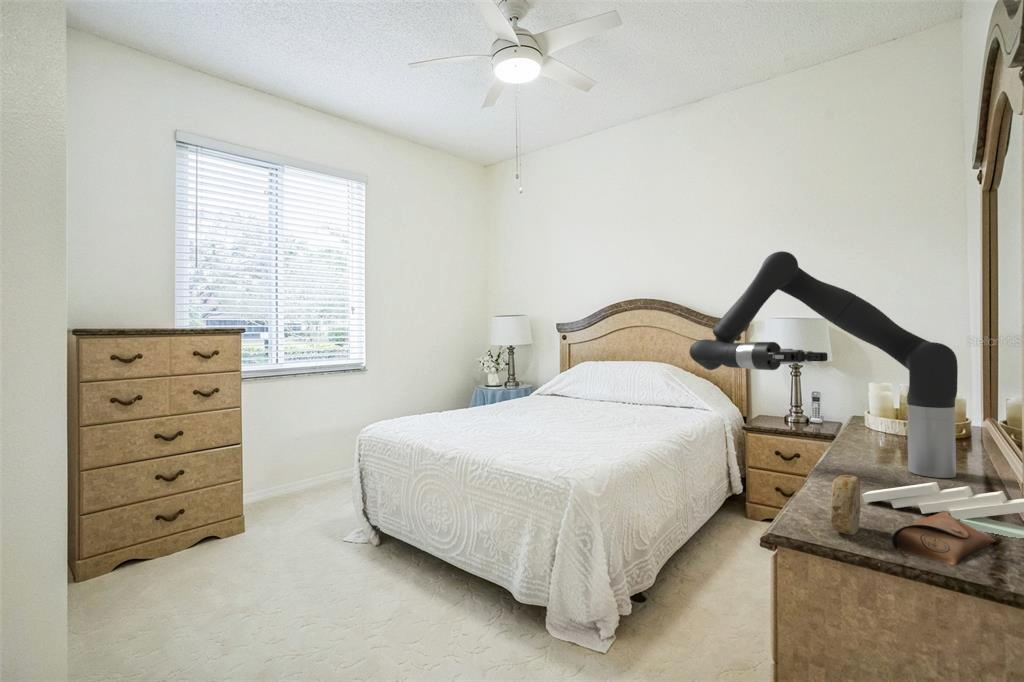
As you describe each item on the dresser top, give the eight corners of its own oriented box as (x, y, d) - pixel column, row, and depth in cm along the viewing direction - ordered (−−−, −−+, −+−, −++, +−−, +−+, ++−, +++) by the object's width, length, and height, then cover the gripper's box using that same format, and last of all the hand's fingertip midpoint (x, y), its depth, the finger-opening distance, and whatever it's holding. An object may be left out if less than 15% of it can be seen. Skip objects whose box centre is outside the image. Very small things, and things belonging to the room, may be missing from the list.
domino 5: (959, 519, 90) (1055, 542, 79) (971, 514, 92) (1065, 536, 82) (960, 528, 90) (1055, 552, 79) (971, 523, 92) (1065, 546, 82)
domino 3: (918, 505, 96) (998, 494, 87) (925, 501, 99) (1002, 490, 90) (922, 513, 95) (1002, 503, 86) (928, 509, 98) (1007, 499, 90)
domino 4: (948, 510, 91) (1035, 500, 83) (953, 507, 95) (1038, 496, 86) (953, 519, 91) (1041, 510, 83) (958, 515, 94) (1043, 506, 86)
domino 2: (889, 500, 99) (963, 489, 91) (896, 496, 102) (969, 485, 94) (893, 508, 99) (968, 498, 90) (900, 504, 102) (973, 494, 93)
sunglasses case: (958, 566, 74) (929, 521, 77) (909, 574, 79) (884, 531, 82) (999, 541, 83) (972, 501, 86) (953, 549, 88) (929, 512, 91)
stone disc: (840, 521, 93) (839, 468, 93) (864, 526, 90) (863, 471, 90) (826, 537, 85) (825, 479, 85) (852, 543, 83) (851, 483, 83)
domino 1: (861, 494, 103) (931, 485, 94) (868, 491, 106) (936, 481, 98) (864, 502, 102) (935, 493, 94) (871, 499, 105) (940, 490, 97)
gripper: (743, 342, 131) (811, 341, 116) (772, 341, 138) (839, 341, 123) (743, 370, 131) (811, 373, 116) (772, 368, 138) (840, 371, 123)
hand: (825, 356), depth 120 cm, fingers closed
